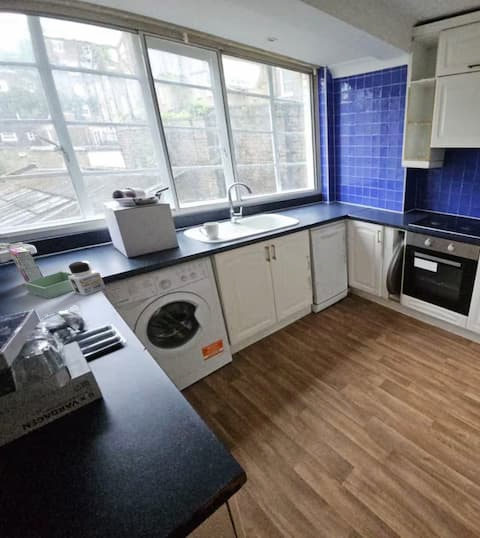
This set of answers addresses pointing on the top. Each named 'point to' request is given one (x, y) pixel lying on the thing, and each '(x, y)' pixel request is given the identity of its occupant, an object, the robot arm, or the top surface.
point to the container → (84, 278)
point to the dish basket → (50, 285)
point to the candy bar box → (25, 263)
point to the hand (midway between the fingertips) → (13, 257)
